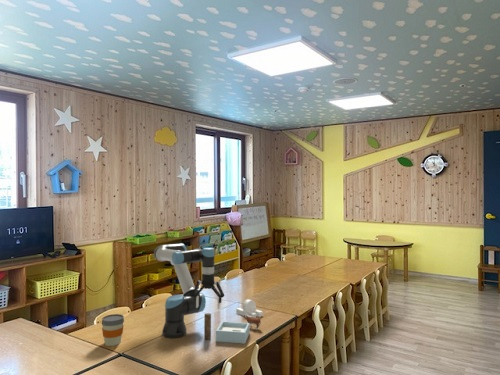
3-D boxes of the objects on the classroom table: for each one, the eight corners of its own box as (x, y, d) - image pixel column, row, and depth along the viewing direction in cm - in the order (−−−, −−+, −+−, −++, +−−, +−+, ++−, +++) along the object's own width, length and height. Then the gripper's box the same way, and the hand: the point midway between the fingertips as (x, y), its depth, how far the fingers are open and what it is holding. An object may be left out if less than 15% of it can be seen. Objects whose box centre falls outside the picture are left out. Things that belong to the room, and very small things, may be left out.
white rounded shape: (262, 316, 266) (262, 301, 266) (253, 319, 259) (253, 304, 259) (245, 310, 279) (245, 296, 279) (236, 313, 272) (236, 298, 272)
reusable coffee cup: (114, 336, 226) (114, 312, 226) (128, 341, 220) (128, 316, 220) (96, 344, 216) (97, 318, 216) (111, 349, 209) (111, 322, 209)
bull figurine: (246, 324, 249) (246, 312, 249) (261, 329, 241) (261, 316, 241) (242, 326, 246) (242, 314, 246) (257, 331, 237) (257, 318, 238)
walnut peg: (203, 339, 223) (203, 315, 223) (205, 337, 227) (205, 313, 227) (209, 340, 222) (210, 315, 222) (211, 337, 226) (211, 313, 226)
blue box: (215, 341, 221) (215, 330, 221) (222, 331, 237) (222, 321, 237) (244, 343, 218) (245, 332, 218) (249, 333, 234) (249, 323, 234)
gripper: (186, 273, 223) (186, 308, 223) (226, 275, 219) (226, 310, 219) (190, 271, 231) (190, 304, 230) (229, 272, 227) (229, 307, 226)
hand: (207, 307), depth 225 cm, fingers open, 13 cm apart
